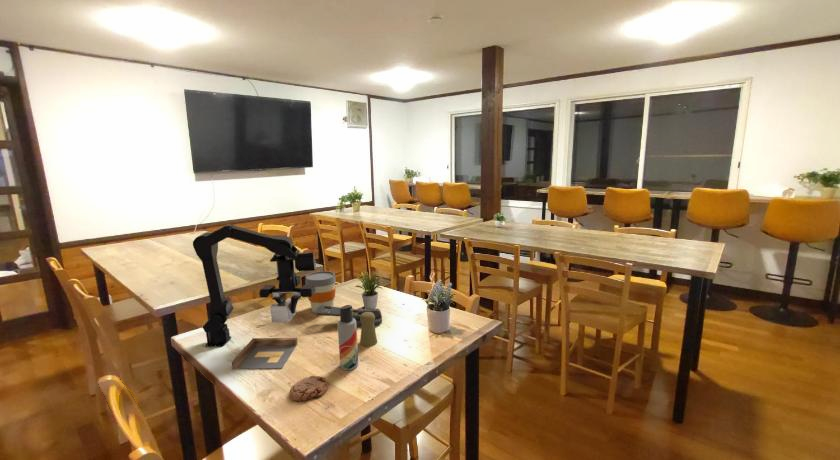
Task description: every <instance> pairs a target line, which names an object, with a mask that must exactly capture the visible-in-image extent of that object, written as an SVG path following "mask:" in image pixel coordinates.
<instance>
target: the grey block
mask: <svg viewBox="0 0 840 460" xmlns="http://www.w3.org/2000/svg"><path fill="white" fill-rule="evenodd" d="M269 309H270V316H271V317H270V319H271V324H272V323H273V324H274V323H276V324H277V323H290V322H291V320H292V319H293V318H294V316H296V314H297V308H296V309H295V313H294V314H293V313H292V306H291V297H288V298H286V299H285V302H284V303H283V304H278V303H272V304H271V305H270V307H269Z"/></svg>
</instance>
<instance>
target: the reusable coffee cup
mask: <svg viewBox="0 0 840 460" xmlns="http://www.w3.org/2000/svg"><path fill="white" fill-rule="evenodd" d="M336 281H337V280H336V274H335V272H333V271H330V270H329V271H328V270H323V271H322V270H320V271H313V272H311V273H308V274H306V276H305V281H304V283H305V284H304V285H314V286H315V288H316V292H315V293H314V294H313V296H312V297H307V298H308V302H309V303H310V308H311V311H312V312H313V313H316V311H317V308H318V307H319V306H321V305H325V306H332V307H334V304H335V303H334V302H335V298H336V289H337V288H336ZM323 312H325V313H329V312H330V309H324V310H323Z"/></svg>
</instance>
